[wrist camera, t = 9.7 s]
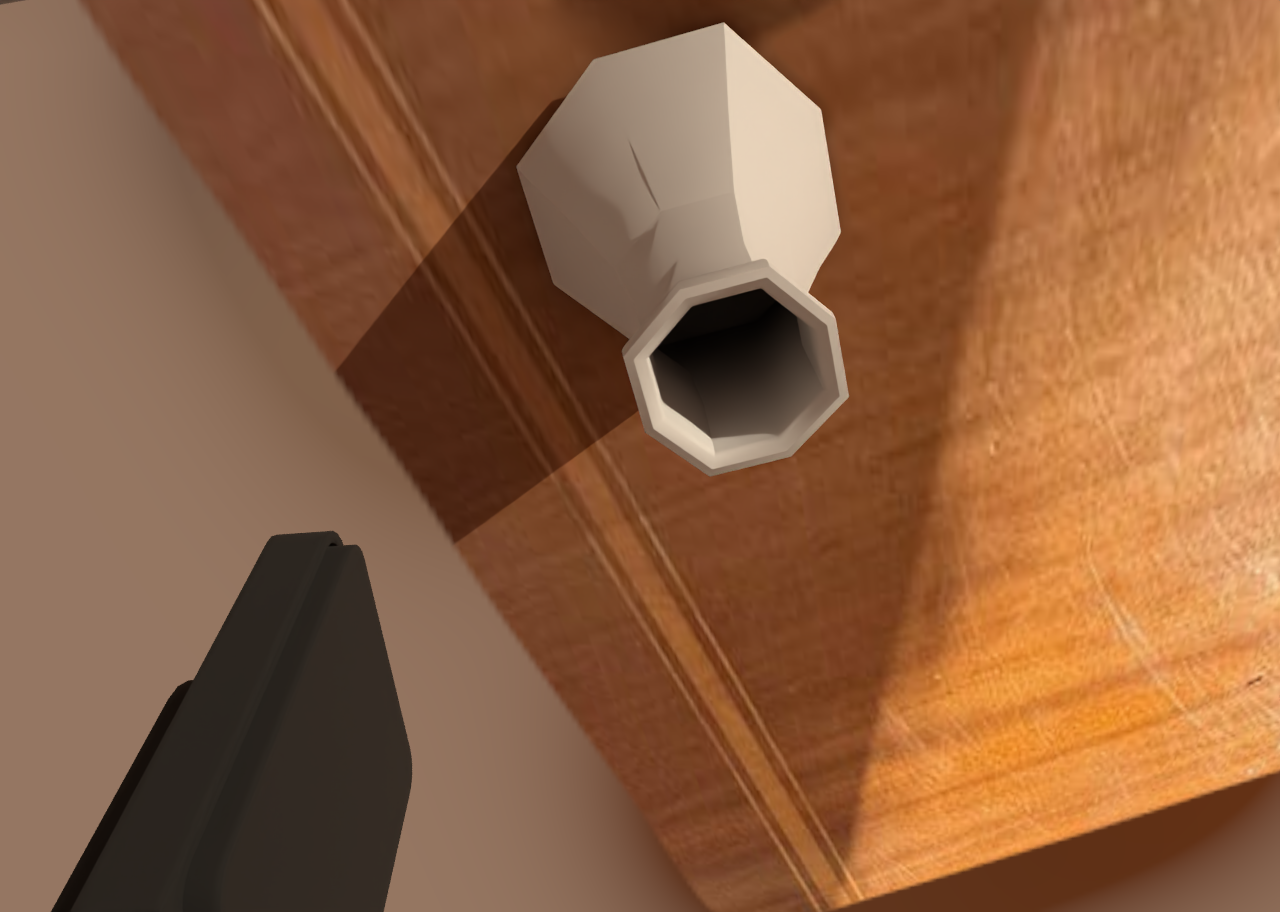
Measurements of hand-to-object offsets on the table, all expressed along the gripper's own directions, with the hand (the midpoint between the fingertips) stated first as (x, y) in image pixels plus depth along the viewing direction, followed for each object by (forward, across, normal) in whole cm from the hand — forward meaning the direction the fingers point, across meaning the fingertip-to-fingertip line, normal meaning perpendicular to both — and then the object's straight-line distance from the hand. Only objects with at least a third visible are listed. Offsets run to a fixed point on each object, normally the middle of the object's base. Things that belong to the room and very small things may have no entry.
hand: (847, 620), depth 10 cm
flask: (+16, +1, 0) cm, 16 cm away
